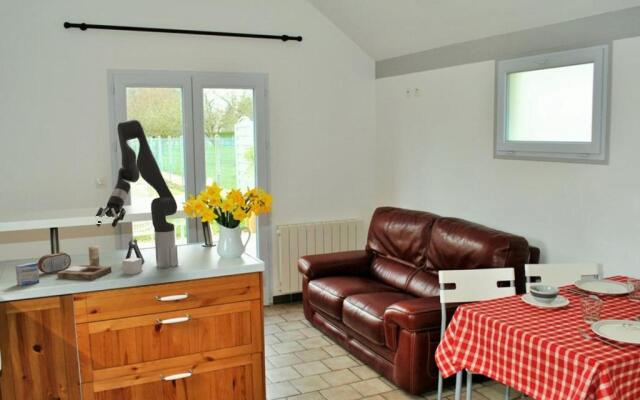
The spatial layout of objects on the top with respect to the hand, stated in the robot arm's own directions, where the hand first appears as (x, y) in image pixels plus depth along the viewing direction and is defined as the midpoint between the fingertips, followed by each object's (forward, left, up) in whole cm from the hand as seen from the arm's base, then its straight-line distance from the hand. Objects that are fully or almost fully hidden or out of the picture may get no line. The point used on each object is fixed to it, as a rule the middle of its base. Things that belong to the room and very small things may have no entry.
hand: (105, 226), depth 292 cm
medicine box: (+12, +41, -18) cm, 46 cm away
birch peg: (0, +11, -18) cm, 21 cm away
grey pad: (0, +24, -16) cm, 28 cm away
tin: (+14, +21, -18) cm, 31 cm away
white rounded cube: (-23, +15, -18) cm, 33 cm away
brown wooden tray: (-4, +24, -18) cm, 30 cm away
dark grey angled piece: (-15, +1, -18) cm, 24 cm away
